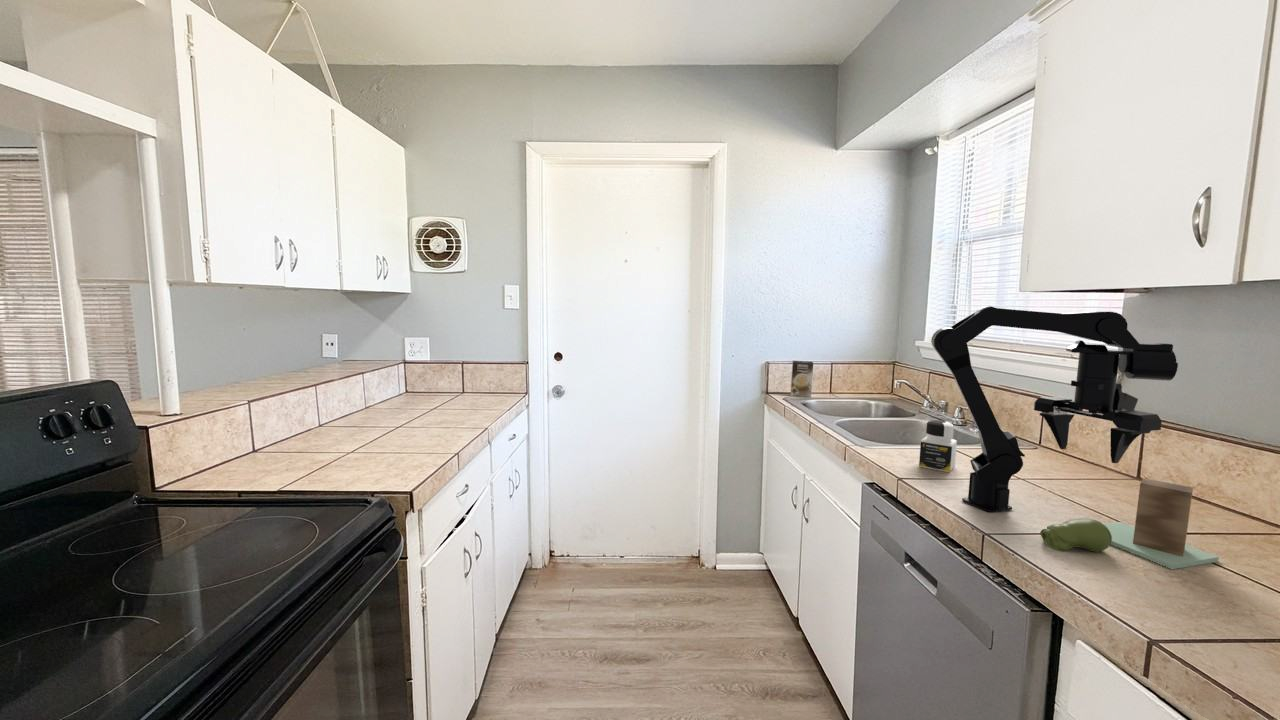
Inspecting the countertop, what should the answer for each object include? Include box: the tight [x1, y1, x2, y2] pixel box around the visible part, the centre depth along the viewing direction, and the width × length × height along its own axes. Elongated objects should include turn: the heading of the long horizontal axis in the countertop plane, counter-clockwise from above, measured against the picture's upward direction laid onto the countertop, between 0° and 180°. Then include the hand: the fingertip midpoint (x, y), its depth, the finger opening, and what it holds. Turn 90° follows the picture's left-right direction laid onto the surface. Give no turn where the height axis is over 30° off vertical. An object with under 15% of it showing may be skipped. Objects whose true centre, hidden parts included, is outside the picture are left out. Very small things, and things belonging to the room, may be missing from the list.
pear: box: [1039, 518, 1112, 552], centre depth 89 cm, size 6×5×10 cm
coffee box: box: [790, 360, 814, 399], centre depth 233 cm, size 9×6×16 cm
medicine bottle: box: [918, 419, 958, 473], centre depth 132 cm, size 7×7×12 cm
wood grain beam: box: [1133, 477, 1194, 557], centre depth 87 cm, size 6×4×11 cm, turn 40°
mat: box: [1103, 521, 1220, 570], centre depth 90 cm, size 14×11×1 cm
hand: (1087, 455), depth 99 cm, fingers open, 9 cm apart
